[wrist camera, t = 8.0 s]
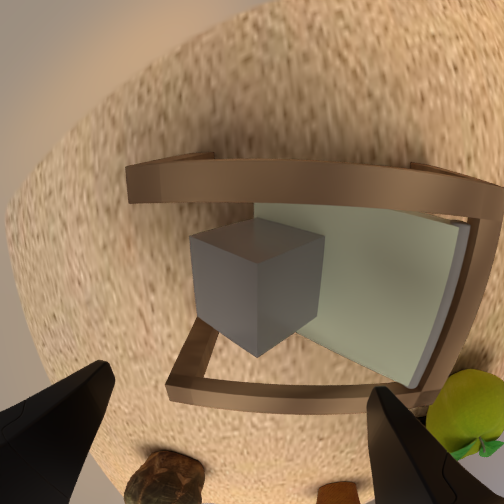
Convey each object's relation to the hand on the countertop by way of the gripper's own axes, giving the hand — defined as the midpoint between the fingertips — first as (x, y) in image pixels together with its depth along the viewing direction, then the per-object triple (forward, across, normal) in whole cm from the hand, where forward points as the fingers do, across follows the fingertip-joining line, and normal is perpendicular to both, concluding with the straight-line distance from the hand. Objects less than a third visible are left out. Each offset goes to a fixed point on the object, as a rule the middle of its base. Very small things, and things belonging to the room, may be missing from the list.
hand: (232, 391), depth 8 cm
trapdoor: (+9, -5, 0) cm, 10 cm away
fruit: (+13, -21, +14) cm, 29 cm away
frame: (+12, -3, 0) cm, 13 cm away
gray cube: (+10, -2, 0) cm, 10 cm away
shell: (+13, +13, +36) cm, 40 cm away
